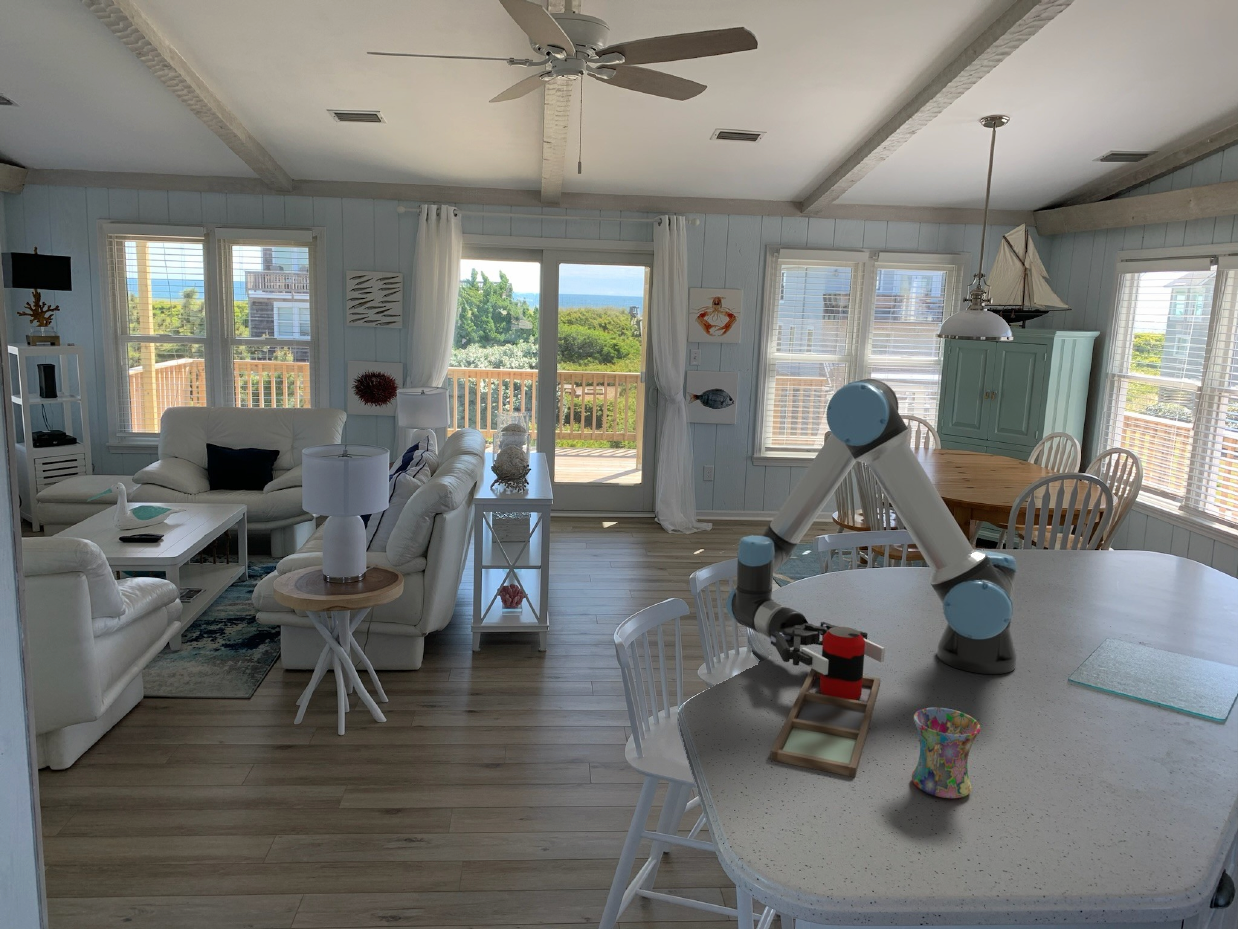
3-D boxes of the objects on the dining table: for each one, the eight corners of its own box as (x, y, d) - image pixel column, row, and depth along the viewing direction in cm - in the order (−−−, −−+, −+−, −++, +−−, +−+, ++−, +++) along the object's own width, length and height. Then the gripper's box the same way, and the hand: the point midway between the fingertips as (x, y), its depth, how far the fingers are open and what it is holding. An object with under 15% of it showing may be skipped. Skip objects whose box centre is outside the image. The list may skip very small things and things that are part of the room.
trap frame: (879, 686, 168) (880, 678, 168) (855, 777, 134) (855, 768, 134) (811, 674, 173) (811, 667, 172) (770, 759, 139) (771, 751, 138)
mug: (916, 765, 138) (921, 702, 136) (979, 782, 133) (985, 717, 131) (897, 800, 128) (902, 732, 126) (964, 820, 123) (971, 749, 121)
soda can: (845, 705, 159) (850, 642, 157) (811, 691, 165) (815, 630, 163) (869, 694, 164) (873, 633, 162) (835, 681, 170) (839, 622, 168)
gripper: (828, 633, 185) (903, 669, 167) (730, 651, 173) (800, 692, 155) (830, 598, 184) (906, 631, 165) (732, 615, 172) (802, 652, 154)
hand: (855, 661), depth 160 cm, fingers open, 13 cm apart
